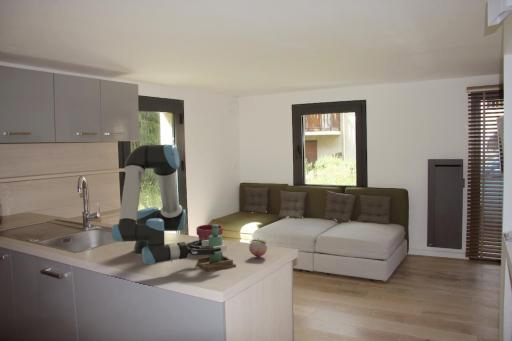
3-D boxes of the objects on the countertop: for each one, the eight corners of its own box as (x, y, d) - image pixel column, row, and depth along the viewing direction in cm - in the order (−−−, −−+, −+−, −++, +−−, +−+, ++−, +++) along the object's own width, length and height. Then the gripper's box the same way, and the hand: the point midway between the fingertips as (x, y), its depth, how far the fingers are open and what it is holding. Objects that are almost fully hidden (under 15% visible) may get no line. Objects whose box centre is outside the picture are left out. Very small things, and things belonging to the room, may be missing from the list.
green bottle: (207, 262, 194) (206, 224, 193) (219, 260, 197) (218, 223, 196) (212, 265, 188) (211, 226, 187) (225, 263, 192) (224, 225, 190)
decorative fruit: (269, 255, 208) (269, 236, 208) (265, 260, 200) (265, 240, 200) (251, 254, 211) (251, 235, 210) (247, 258, 203) (247, 239, 202)
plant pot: (210, 254, 212) (209, 230, 211) (191, 250, 220) (191, 227, 219) (228, 249, 223) (227, 226, 222) (209, 245, 231) (209, 223, 231)
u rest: (196, 263, 195) (196, 257, 195) (223, 259, 202) (223, 253, 202) (208, 271, 183) (208, 265, 183) (235, 266, 190) (235, 260, 190)
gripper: (168, 253, 194) (209, 247, 204) (187, 266, 172) (231, 258, 183) (168, 237, 193) (209, 232, 204) (187, 248, 172) (231, 242, 182)
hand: (220, 244), depth 193 cm, fingers open, 13 cm apart
